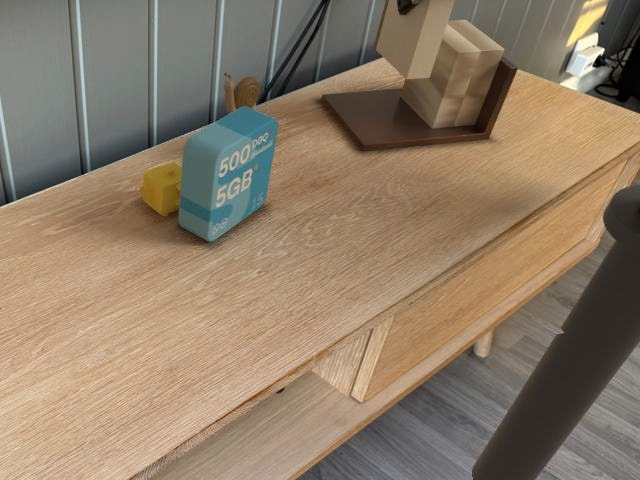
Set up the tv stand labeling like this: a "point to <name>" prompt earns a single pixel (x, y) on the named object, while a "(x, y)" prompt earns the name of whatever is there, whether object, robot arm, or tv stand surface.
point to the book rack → (433, 97)
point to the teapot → (162, 188)
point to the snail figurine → (241, 93)
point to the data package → (226, 172)
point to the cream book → (413, 36)
